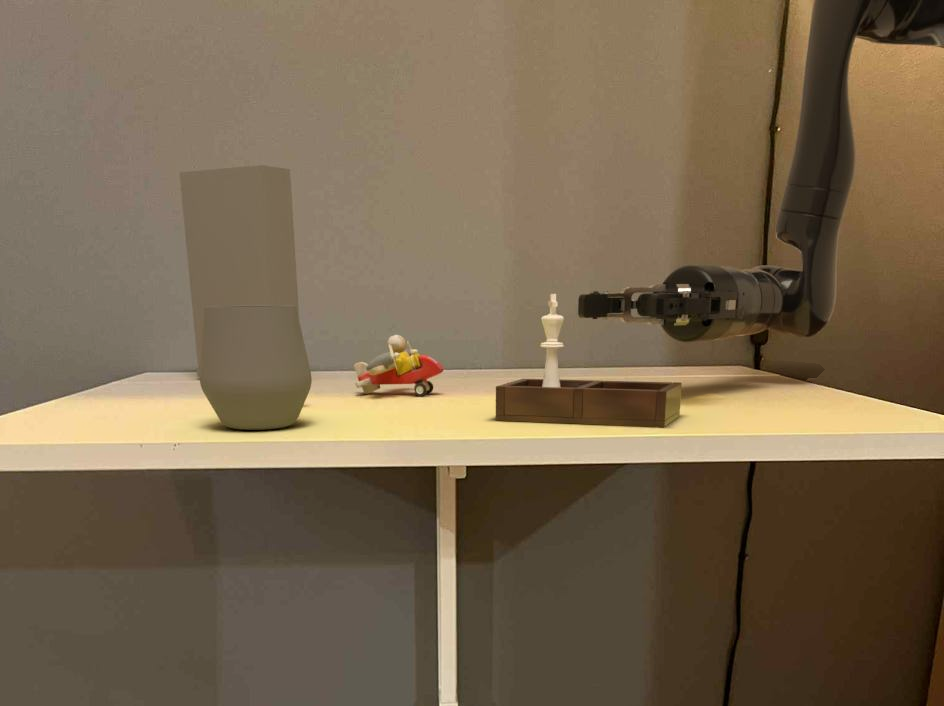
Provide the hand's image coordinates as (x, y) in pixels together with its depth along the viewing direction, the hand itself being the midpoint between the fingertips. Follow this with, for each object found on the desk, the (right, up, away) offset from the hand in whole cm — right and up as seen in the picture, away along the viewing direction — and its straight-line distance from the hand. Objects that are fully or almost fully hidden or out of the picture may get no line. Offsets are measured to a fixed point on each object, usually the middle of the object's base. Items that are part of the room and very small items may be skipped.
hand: (616, 306), depth 93 cm
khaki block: (-42, +3, +37) cm, 56 cm away
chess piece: (-6, -11, -3) cm, 13 cm away
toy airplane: (-22, -4, +17) cm, 29 cm away
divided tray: (-3, -11, -4) cm, 12 cm away
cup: (-32, -13, -7) cm, 36 cm away
